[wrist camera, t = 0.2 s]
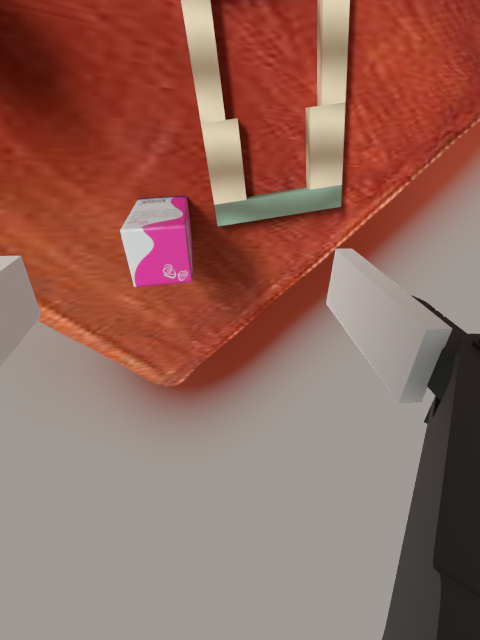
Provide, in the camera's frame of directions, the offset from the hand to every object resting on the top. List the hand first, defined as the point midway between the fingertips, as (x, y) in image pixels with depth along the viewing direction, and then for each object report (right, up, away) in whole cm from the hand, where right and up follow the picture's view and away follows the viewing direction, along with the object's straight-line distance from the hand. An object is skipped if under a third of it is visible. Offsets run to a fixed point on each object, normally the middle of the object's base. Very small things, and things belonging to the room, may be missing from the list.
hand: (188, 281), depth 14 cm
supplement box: (-7, +10, +25) cm, 28 cm away
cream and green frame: (+5, +21, +19) cm, 29 cm away
